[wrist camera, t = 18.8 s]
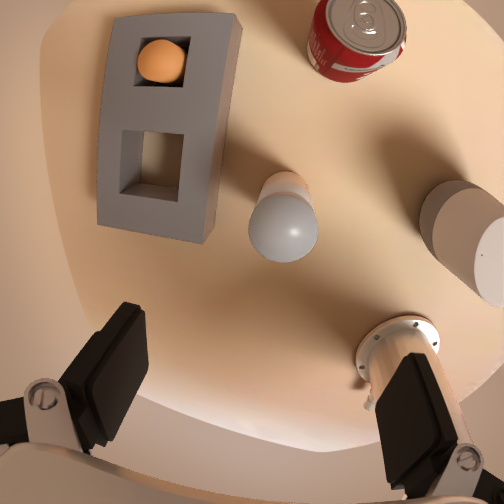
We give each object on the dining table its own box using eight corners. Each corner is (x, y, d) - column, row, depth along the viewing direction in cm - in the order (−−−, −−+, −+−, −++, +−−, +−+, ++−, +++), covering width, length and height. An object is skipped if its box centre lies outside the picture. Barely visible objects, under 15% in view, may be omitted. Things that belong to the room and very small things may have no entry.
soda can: (301, 75, 27) (309, 49, 16) (311, 17, 24) (322, -33, 13) (367, 91, 27) (409, 77, 16) (375, 33, 24) (418, -4, 13)
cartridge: (304, 221, 33) (309, 267, 23) (258, 212, 33) (244, 255, 23) (313, 176, 31) (325, 204, 21) (265, 167, 31) (254, 190, 21)
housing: (214, 226, 35) (202, 244, 30) (119, 210, 35) (97, 224, 31) (242, 28, 25) (234, 13, 21) (136, 28, 26) (114, 18, 21)
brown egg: (192, 86, 28) (175, 81, 23) (156, 84, 28) (134, 80, 23) (198, 49, 26) (182, 39, 22) (161, 49, 26) (141, 40, 22)
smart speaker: (486, 188, 29) (561, 230, 16) (462, 257, 32) (521, 321, 20) (424, 164, 29) (497, 198, 16) (401, 242, 33) (452, 311, 20)
